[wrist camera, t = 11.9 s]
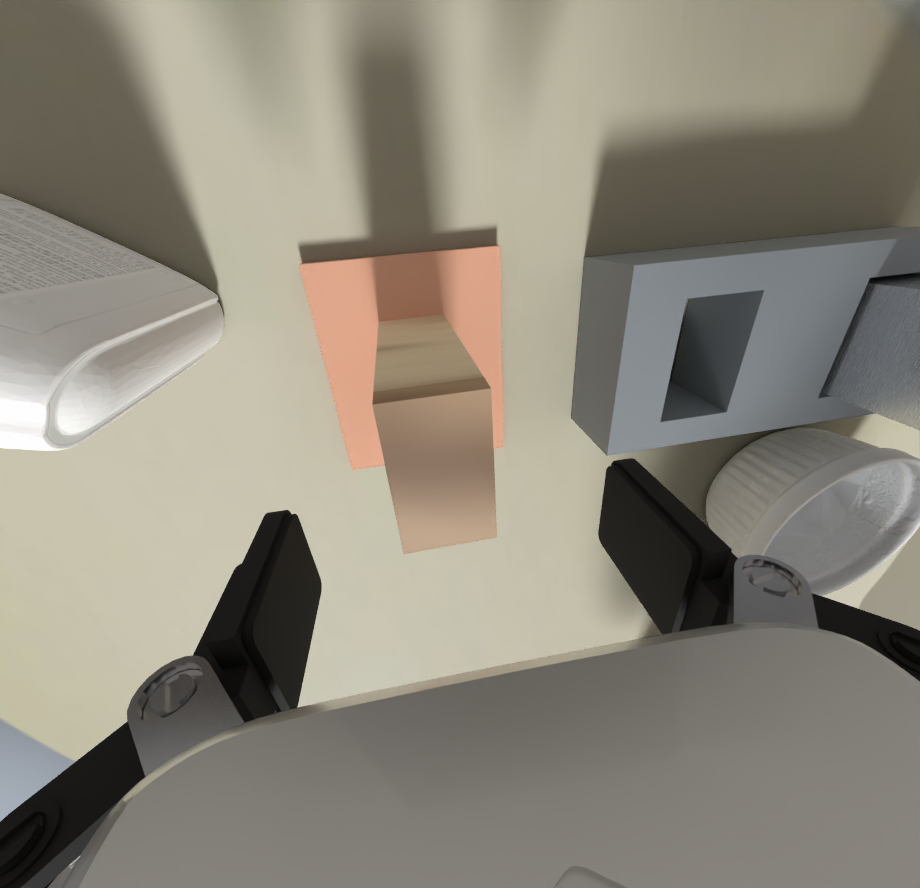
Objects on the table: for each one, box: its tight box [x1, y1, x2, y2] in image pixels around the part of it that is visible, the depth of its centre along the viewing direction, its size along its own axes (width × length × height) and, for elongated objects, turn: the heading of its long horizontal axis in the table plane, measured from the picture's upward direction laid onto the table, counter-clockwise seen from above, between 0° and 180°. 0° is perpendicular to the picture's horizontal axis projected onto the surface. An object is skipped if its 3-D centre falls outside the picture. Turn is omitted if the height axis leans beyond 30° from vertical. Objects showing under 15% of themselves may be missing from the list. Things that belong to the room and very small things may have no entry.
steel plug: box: [821, 274, 920, 430], centre depth 21 cm, size 6×4×11 cm, turn 4°
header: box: [571, 227, 920, 456], centre depth 23 cm, size 10×20×5 cm, turn 94°
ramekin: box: [706, 428, 920, 596], centre depth 30 cm, size 13×13×7 cm
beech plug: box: [372, 314, 497, 554], centre depth 17 cm, size 6×4×11 cm, turn 4°
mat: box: [299, 245, 504, 470], centre depth 22 cm, size 12×10×1 cm
